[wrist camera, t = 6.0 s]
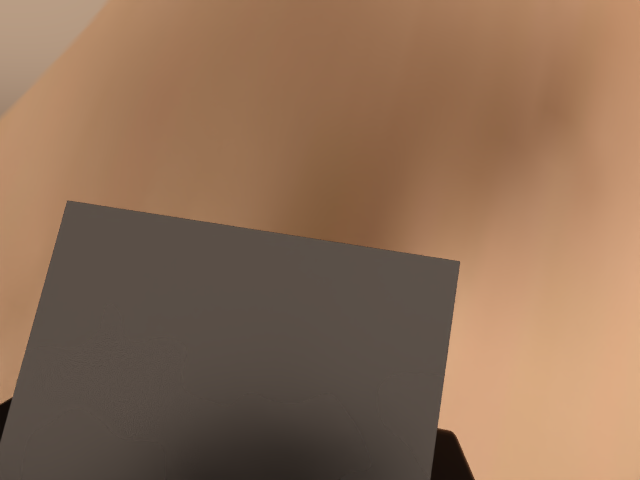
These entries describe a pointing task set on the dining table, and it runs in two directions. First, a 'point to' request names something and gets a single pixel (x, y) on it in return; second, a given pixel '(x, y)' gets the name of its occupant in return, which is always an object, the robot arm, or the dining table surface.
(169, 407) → the steel block
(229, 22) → the dining table surface
